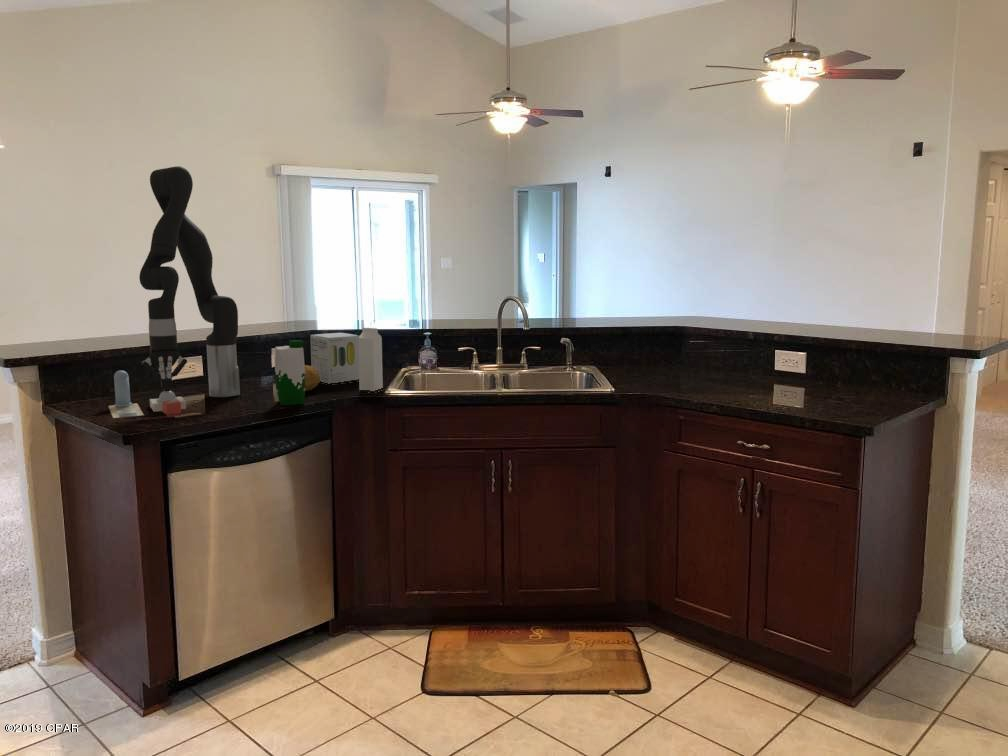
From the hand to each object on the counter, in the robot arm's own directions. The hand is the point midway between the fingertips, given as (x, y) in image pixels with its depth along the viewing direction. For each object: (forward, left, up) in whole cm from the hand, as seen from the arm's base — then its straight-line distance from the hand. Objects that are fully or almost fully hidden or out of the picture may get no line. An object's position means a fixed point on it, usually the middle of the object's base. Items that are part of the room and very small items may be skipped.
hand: (166, 390), depth 230 cm
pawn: (+11, -9, -5) cm, 15 cm away
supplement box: (-62, -27, -6) cm, 68 cm away
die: (0, +8, -6) cm, 10 cm away
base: (0, 0, -6) cm, 6 cm away
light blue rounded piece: (0, 0, -6) cm, 6 cm away
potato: (-45, -11, -6) cm, 46 cm away
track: (+11, -2, -6) cm, 13 cm away
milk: (-66, -1, -6) cm, 66 cm away
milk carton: (-36, +7, -6) cm, 37 cm away
